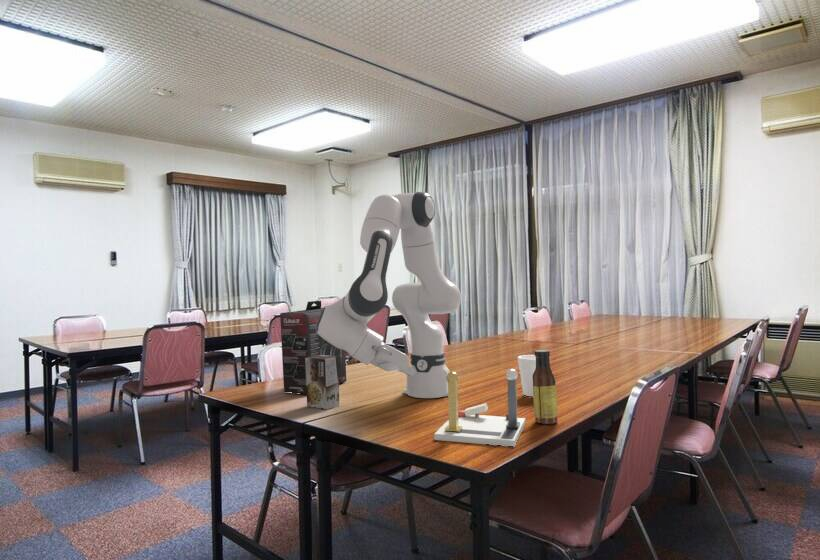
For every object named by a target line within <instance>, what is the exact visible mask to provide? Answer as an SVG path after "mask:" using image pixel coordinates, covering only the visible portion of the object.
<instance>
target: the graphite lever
mask: <svg viewBox="0 0 820 560" xmlns="http://www.w3.org/2000/svg"><path fill="white" fill-rule="evenodd" d="M505 378H506V379H507V410H508V411H507V414H508V423H507V425H506V428H517V429H518V427H519V425H520V422H517V418H518V395H517V394H518V389H517V385H518V384H517V381H518V380H517V379H518V378H519V373H518V371H517V370H516V369H514V368H509V369H507V371H506V372H505Z"/></svg>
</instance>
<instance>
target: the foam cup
mask: <svg viewBox="0 0 820 560" xmlns="http://www.w3.org/2000/svg"><path fill="white" fill-rule="evenodd" d="M517 364H518V368H519V374H520V376H519V377H520V381H521V387H522V394H524V395H526V396H533V377H532V376H533V373H534V371H535V369H536V357H535V354H524V355H519V356H517ZM524 395H523V396H524ZM526 396H525V397H526Z"/></svg>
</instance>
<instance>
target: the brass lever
mask: <svg viewBox="0 0 820 560" xmlns="http://www.w3.org/2000/svg"><path fill="white" fill-rule="evenodd" d="M446 379H447V382H448V396H447V400H448V402H447V405H448V407H447V408H448V411H447V412H448V420H449V425H447V426H446V428H445V430H446V431H458V432H460V431H461V430H462V429H463V426H458V410H459V398H458V397H459V396H458V395H459V393H458V390H459V389H458V385H459V384H458V382H459V379H460V377H459V374H458V373H457V372H456V371H450V372H449V373H448V374H447V376H446Z"/></svg>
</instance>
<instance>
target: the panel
mask: <svg viewBox="0 0 820 560" xmlns="http://www.w3.org/2000/svg"><path fill="white" fill-rule="evenodd" d="M465 410H466V409H465ZM465 410H464V409H458V426H463V429H462V430H461V431H460V432H458V431H446V430H445V428H446V426H447V425H449V419H448V420H447V421H445V422H444V423H443V424H442V425H441V426H440V428H439V429H437V430H436V431H435V432H434V433H433V434H434V435H433V436H434V437H433V439H434V441H444V442H445V441H446V442H456V443H467V444H475V445H477V444H478V445H486V444H489V445H488V446H497V445H501V446H500V447H508V446H513V447H512V448H515V447H516V445H517V443H518V441H519V439H518V438H520V437H519V436H521V435H522V433H521V432H523V430H524V428H525V426H526V424H527V423H526V422H527V421H526V420H527V419H526V418H525V417H517V422H520V425H519V427H518V429H517V428H506V425H507V423H508V413H506V414H505V416H498V415H497V416H496V415H484V414H483V415H482V414H480V413H478V414H474V415H470V416H467V417H466V415H465V412H464V411H465ZM525 423H526V424H525ZM524 425H525V426H524ZM523 427H524V428H523ZM520 434H521V435H520ZM517 440H518V441H517ZM516 442H517V443H516Z"/></svg>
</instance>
